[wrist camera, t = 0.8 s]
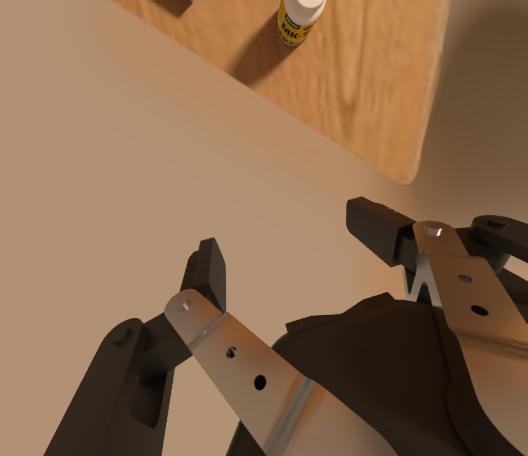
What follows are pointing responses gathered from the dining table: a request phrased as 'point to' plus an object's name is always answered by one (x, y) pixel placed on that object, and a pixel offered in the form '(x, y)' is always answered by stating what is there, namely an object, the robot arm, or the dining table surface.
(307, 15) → the supplement bottle
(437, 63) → the dining table surface
